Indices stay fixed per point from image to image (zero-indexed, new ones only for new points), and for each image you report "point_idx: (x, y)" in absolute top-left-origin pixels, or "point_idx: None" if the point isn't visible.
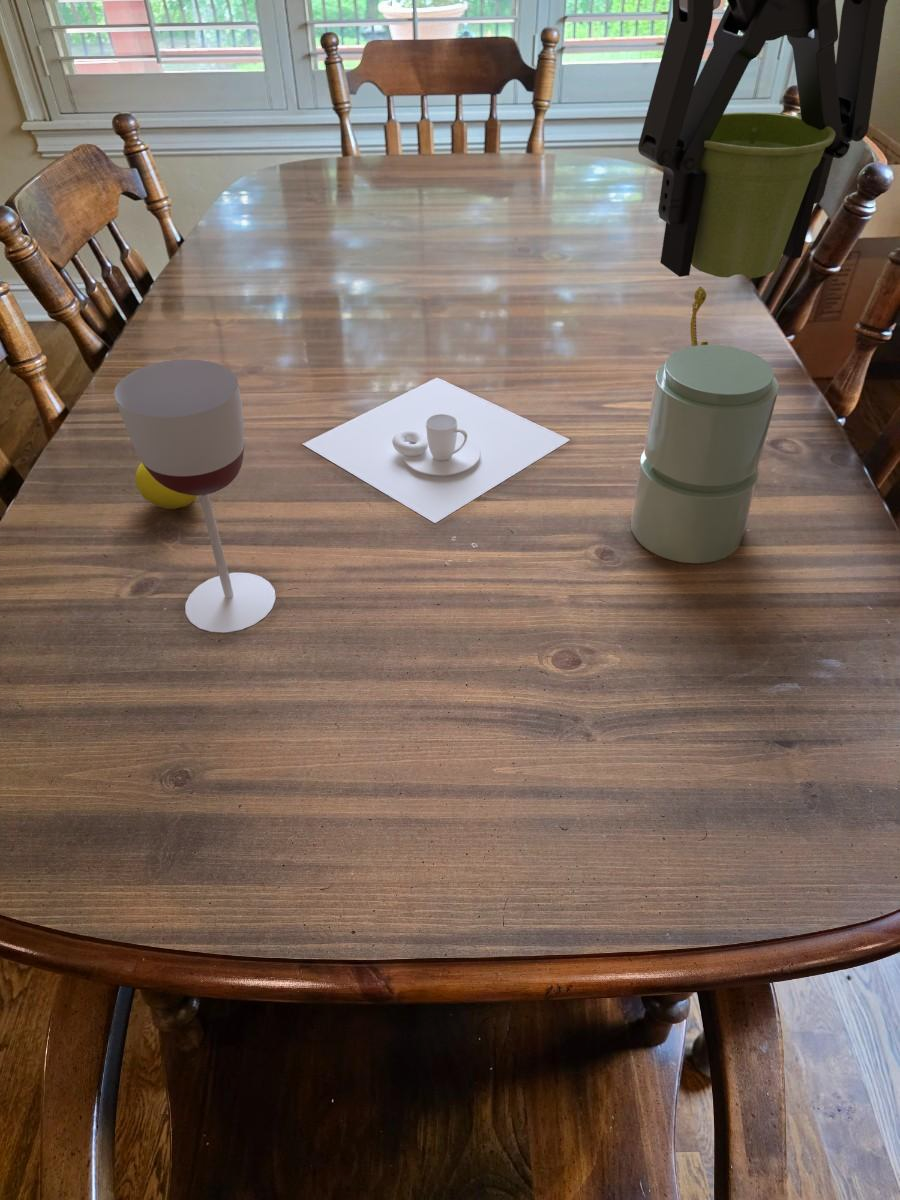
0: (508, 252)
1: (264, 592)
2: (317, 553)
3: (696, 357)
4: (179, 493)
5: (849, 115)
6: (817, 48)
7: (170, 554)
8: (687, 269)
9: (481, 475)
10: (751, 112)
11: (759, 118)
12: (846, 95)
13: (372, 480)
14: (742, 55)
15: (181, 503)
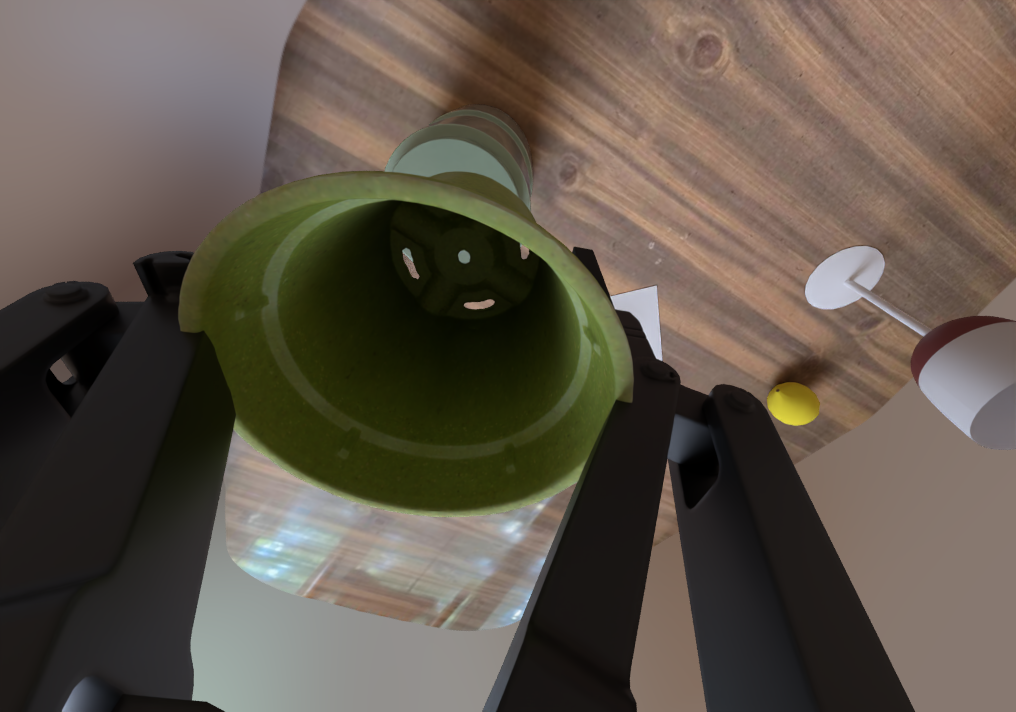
0: (391, 523)
1: (820, 275)
2: (752, 297)
3: (461, 252)
4: (801, 388)
5: (69, 379)
6: (91, 602)
7: (828, 345)
8: (580, 252)
9: None
10: (334, 494)
11: (325, 472)
12: (46, 407)
13: (656, 351)
14: (588, 658)
15: (794, 383)
